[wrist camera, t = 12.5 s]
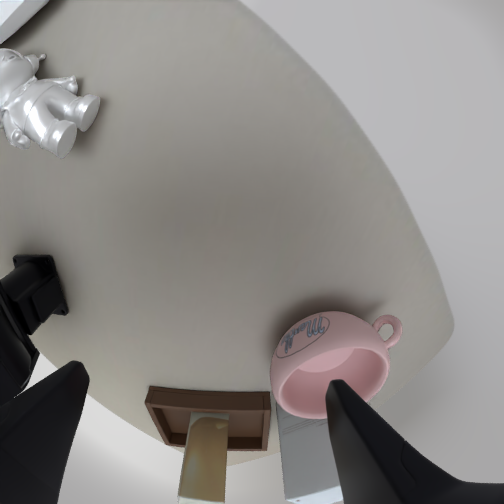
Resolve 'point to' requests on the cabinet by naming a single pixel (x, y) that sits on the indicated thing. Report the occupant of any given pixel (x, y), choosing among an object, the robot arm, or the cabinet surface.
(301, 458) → the white packaging box
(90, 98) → the figurine
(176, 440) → the tray
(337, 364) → the mug
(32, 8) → the candle holder
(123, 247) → the cabinet surface
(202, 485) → the cosmetic box
